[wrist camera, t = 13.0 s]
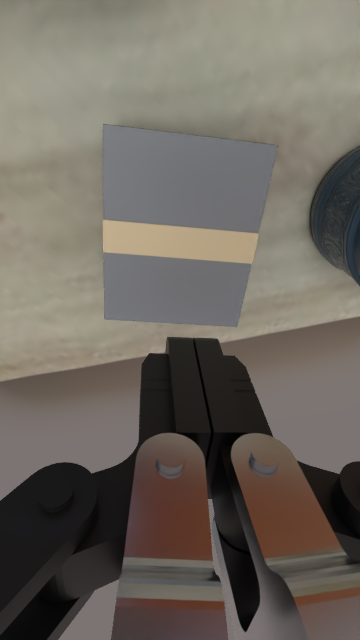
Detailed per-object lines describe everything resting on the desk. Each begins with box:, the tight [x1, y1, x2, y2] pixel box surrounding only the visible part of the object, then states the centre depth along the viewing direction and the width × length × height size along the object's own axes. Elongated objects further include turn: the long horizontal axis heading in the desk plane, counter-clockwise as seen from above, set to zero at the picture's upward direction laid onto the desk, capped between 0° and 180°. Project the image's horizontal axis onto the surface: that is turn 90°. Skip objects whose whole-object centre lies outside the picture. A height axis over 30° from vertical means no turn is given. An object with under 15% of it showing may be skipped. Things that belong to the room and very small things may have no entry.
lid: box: [103, 124, 278, 327], centre depth 28 cm, size 12×15×1 cm
